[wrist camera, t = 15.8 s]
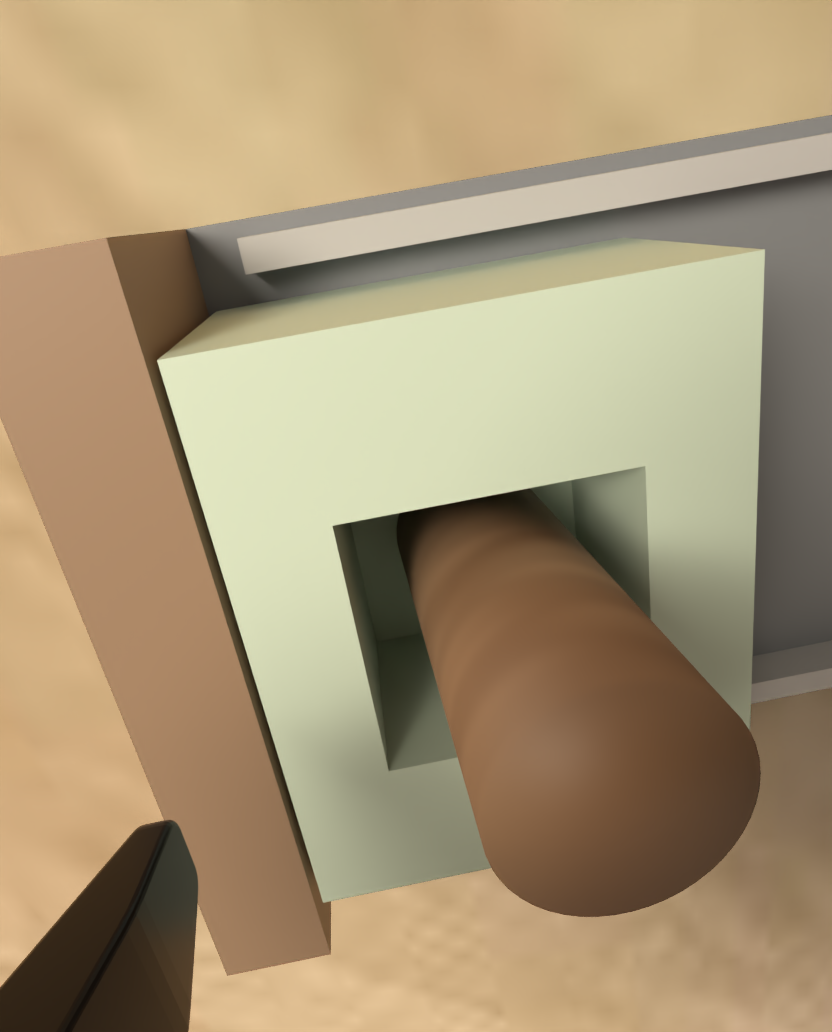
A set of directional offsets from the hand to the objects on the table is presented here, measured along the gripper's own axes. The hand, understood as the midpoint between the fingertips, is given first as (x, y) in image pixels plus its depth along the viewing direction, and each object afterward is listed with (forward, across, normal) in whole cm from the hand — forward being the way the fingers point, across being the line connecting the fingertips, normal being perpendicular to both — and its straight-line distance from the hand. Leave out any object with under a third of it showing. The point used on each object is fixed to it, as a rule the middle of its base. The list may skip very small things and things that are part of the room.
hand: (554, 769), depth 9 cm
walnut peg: (+7, 0, 0) cm, 7 cm away
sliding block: (+8, 0, 0) cm, 8 cm away
